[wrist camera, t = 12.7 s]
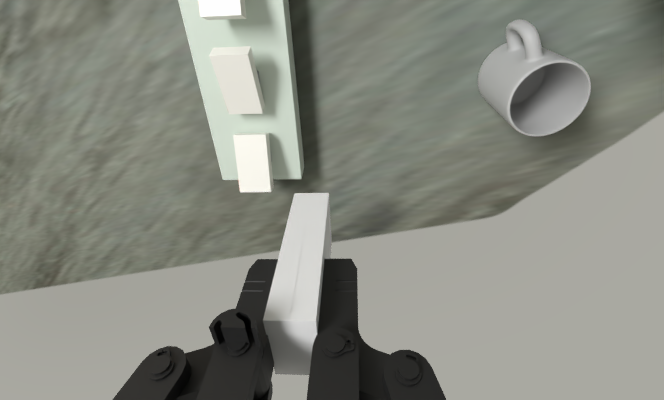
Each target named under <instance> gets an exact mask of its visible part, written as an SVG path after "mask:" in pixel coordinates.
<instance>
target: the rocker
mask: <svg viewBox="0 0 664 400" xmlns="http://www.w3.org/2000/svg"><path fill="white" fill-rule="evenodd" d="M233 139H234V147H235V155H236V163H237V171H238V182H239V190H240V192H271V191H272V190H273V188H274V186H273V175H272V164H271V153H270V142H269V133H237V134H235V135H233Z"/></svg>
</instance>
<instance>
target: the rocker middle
mask: <svg viewBox="0 0 664 400" xmlns="http://www.w3.org/2000/svg"><path fill="white" fill-rule="evenodd" d="M209 57H210V60H211V63H212V66H213V69H214V72H215V74H216V77H217V80H218V83H219V86H220V89H221V92H222V95H223V98H224V101H225V104H226V107H227V110H228V112H229V114H263V111H264V107H265V104H264V99H263V95H262V91H261V87H260V83H259V79H258V74H257V70H256V66H255V62H254V58H253V54H252V49H251V46H244V47H216V48H213V49H212V51H211V53H210V55H209Z"/></svg>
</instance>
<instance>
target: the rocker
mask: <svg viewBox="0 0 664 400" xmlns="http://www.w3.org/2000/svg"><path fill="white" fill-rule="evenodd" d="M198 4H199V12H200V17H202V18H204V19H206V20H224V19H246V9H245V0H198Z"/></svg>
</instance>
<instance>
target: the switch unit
mask: <svg viewBox="0 0 664 400" xmlns="http://www.w3.org/2000/svg"><path fill="white" fill-rule="evenodd" d="M178 1H179V5H180V9H181V13H182V17H183V21H184V25H185V29H186V34H187V38H188V42H189V46H190V50H191V54H192V58H193V62H194V66H195V70H196V74H197V78H198V82H199V86H200V90H201V94H202V98H203V102H204V106H205V110H206V114H207V118H208V122H209V126H210V130H211V134H212V138H213V142H214V146H215V150H216V154H217V158H218V162H219V166H220V170H221V174H222V178H223V180H238V171H237V163H236V155H235V147H234V139H233V135H235V134H237V133H269V142H270V153H271V164H272V175H273V179H302V175H303V170H304V156H303V146H302V135H301V125H300V115H299V104H298V94H297V84H296V73H295V63H294V52H293V42H292V32H291V21H290V11H289V0H245V9H246V19H224V20H206V19H204V18H202V17H200V12H199V4H198V0H178ZM244 46H251V49H252V54H253V58H254V62H255V66H256V70H257V74H258V79H259V83H260V87H261V91H262V95H263V99H264V104H265V107H264V111H263V114H229V112H228V110H227V107H226V104H225V101H224V98H223V95H222V92H221V89H220V86H219V83H218V80H217V77H216V74H215V72H214V69H213V66H212V63H211V60H210V57H209V55H210V53H211V51H212V49H213V48H216V47H244Z"/></svg>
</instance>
